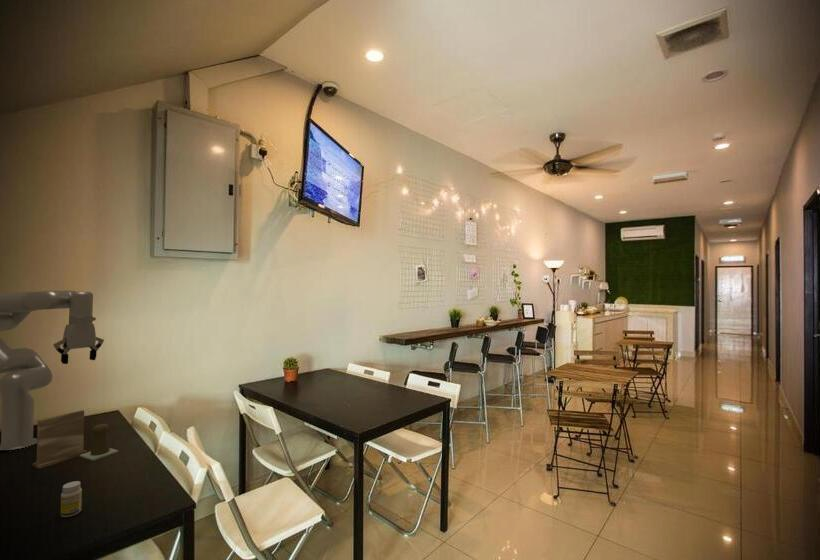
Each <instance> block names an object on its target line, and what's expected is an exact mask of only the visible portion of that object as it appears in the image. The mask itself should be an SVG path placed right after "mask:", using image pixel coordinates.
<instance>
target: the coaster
mask: <svg viewBox="0 0 820 560" xmlns="http://www.w3.org/2000/svg"><path fill="white" fill-rule="evenodd" d="M109 450H110V451H109V452H107V453H105V454H102V455H96V456H92V455H90V454H91V451H87V453H84V454H81V455H80V456H79V457H80V458H83V459H86V460H88V461H92V462H93V461H96V460H100V459H102V458H105V457H108V456H110V455H113V454H116V453H119V450H118V449H115V448H110V447H109Z"/></svg>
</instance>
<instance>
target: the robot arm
mask: <svg viewBox="0 0 820 560" xmlns="http://www.w3.org/2000/svg"><path fill="white" fill-rule="evenodd" d="M93 306H94V293H93V292H91V291H76V290H41V291H40V290H39V291H31V290H29V291H17V292H14V291H13V292H3V293H0V332H3V331H4V332H6V331H10V330H11V331H12V330H13V329H15V328H17V327H18V326H19V325H20V324H21V323H22V322H24V320H25V319H26V318H27V317H28V315H30V314H31V313H32V312H36V311H41V310H43V311H44V310H56V309H59V310H60V309H63V310H64V309H69V311H68V324H66V325H65V327H64V330H63V335H62V339H61V340H59V341H57V342H55V343H53V345H52V346H53V347H54V349H55V351H57V352H58V353H59V354H60V362H61V364H63V365H68V364H69V354H68V353H69V352H70V351H71V350H76V349H84V348H85V349H86V348H89V349H90V350H89V360H90V361H96V358H97V351H98V350H99V349H100V348H101V346H102V345H103V344H104V341H105V339H103V338H100V337H98V336H96V334H97V333H96V328H95V324H94V323H93V322H94V321H96V319H97V318H96V317H94V316H93V311H94V310H93V309H94V307H93ZM61 345H62V348H61ZM0 374H4V375H3V376H2V377H0V399H1V429H0V430H1V433H0V435H1V436H0V450H15V449H20V450H22V449H21V448H24V449H26V448H25V447H27V448H29V447H28V446H30V447H32V446H31V445H33V446H34V444H35V445H37V438H36V437H34V411H35V410H34V409H35V406H34V405H35V403H34V399H33V396H31V394H30V393H29V392H32V391H34V390H38V389H41V388H44V387H47V386H48V385H50V383H52V381H53V373H52V370H51V369H50V367H49V366H48V365H47V364H46V363H45V361H44V360H43V359H42V357H41V356H40V355H39V354H38V353H37V352H36V351H35V350H33V349H32V348H28V347H20V348H10V346H8V344H7V343H6V342H5V340H3V339H2V338H1V337H0ZM15 451H16V450H15Z"/></svg>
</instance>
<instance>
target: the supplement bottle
mask: <svg viewBox="0 0 820 560" xmlns="http://www.w3.org/2000/svg"><path fill="white" fill-rule="evenodd" d="M61 491H62V492H61V494H60V516H61V518H69V517H72V516H77V514H79V513H80V512H81V511H82V509H83V508H82V507H83V504H82V503H83V489H82V487H81V481H80V480H75V481H70V482H67V483H65V484H63V486H62V490H61Z"/></svg>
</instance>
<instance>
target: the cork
mask: <svg viewBox="0 0 820 560" xmlns="http://www.w3.org/2000/svg"><path fill="white" fill-rule="evenodd" d="M91 431H92V434H93V438H92V443H91V444H92V445H91V450H90V452H91V454H90V455H92V456H96V455H102V454H105V453H107V452H109V451H110V450H109V448H110V444H109V443H110V442H109V438H108V431H109V425H108V424H107V423H99V424H96V425H94V426H93V427H92V430H91Z"/></svg>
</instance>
